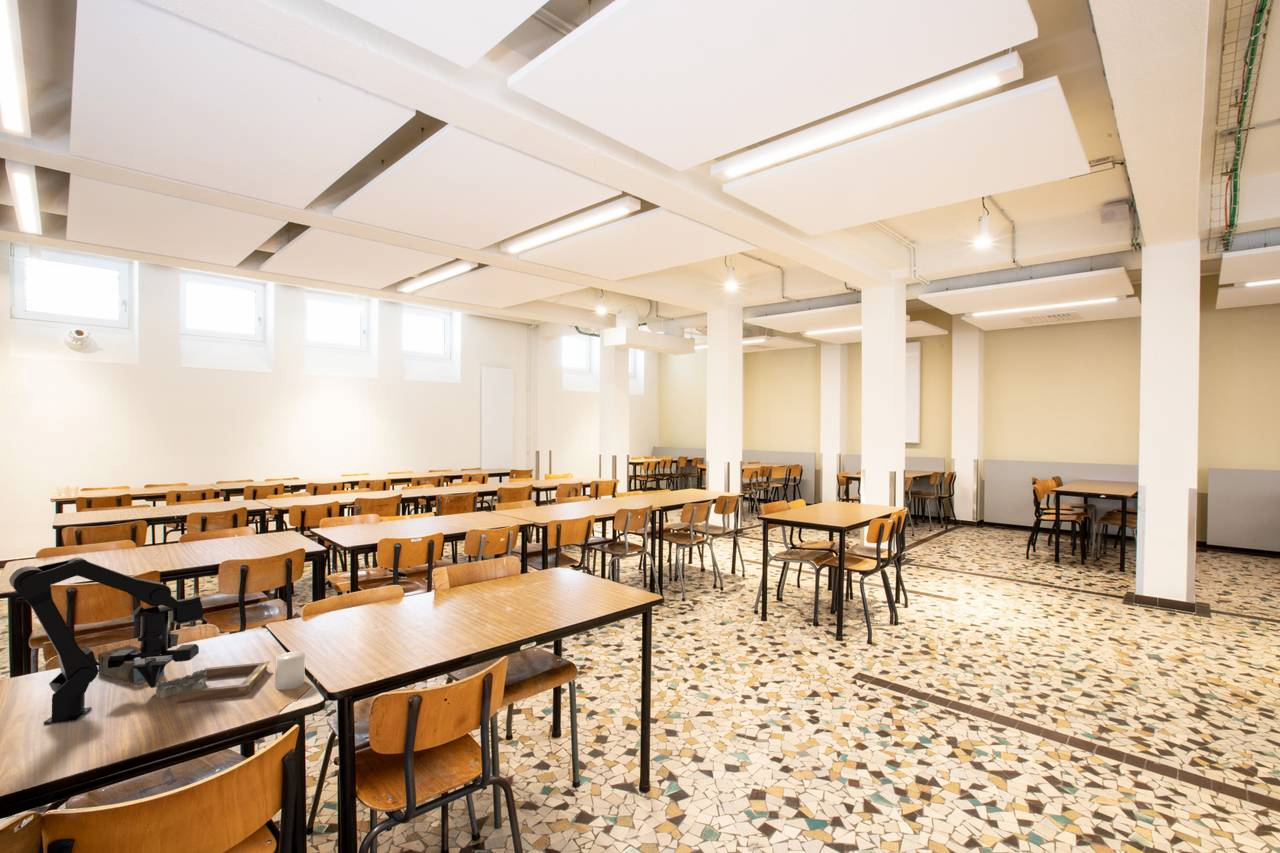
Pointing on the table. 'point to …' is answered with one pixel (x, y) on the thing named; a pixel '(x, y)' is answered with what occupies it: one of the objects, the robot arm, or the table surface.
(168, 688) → the egg carton
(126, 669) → the grey-green printed box
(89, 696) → the table surface
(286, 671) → the off-white rounded cube
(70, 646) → the robot arm
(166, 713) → the table surface
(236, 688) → the frame
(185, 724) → the table surface
